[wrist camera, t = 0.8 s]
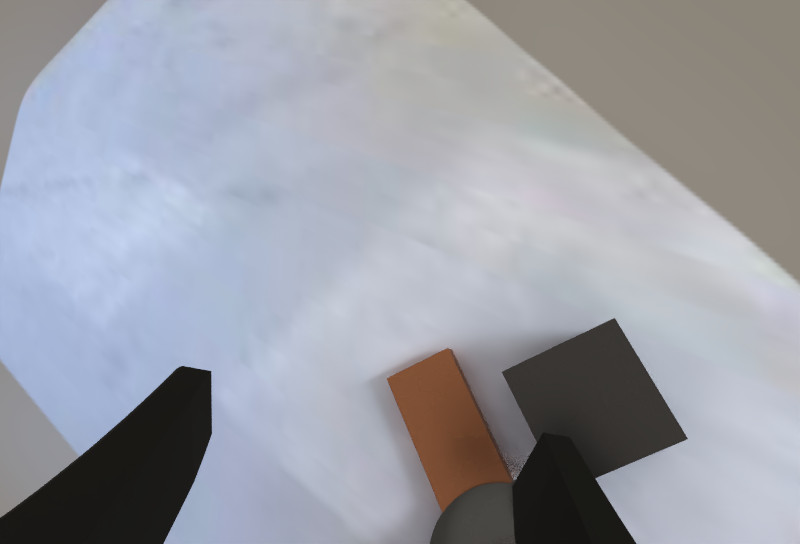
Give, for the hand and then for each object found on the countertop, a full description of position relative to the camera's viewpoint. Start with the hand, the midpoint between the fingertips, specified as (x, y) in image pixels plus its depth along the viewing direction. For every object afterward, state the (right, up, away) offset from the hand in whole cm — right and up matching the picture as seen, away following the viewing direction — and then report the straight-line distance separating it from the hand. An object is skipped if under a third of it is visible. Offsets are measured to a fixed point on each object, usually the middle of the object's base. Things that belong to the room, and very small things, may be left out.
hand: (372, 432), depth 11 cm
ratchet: (+4, -7, +13) cm, 16 cm away
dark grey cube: (+9, -3, +13) cm, 16 cm away
